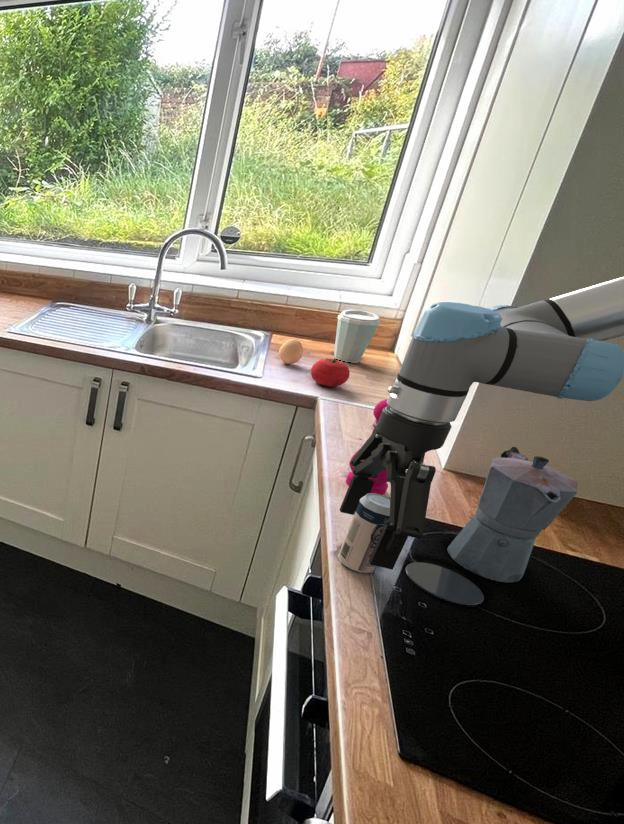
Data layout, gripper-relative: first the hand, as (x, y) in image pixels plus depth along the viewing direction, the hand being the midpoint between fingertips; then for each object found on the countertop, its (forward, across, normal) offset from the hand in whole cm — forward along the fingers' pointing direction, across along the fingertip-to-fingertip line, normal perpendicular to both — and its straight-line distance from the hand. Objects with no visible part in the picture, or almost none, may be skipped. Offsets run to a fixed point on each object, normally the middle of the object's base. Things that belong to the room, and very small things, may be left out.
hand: (363, 537), depth 89 cm
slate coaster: (+5, 0, +12) cm, 13 cm away
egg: (+5, -102, +12) cm, 103 cm away
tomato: (+5, -87, +18) cm, 89 cm away
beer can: (+5, 0, 0) cm, 5 cm away
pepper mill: (+5, -28, +10) cm, 30 cm away
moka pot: (+5, -9, +20) cm, 22 cm away
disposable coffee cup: (+5, -114, +30) cm, 118 cm away
